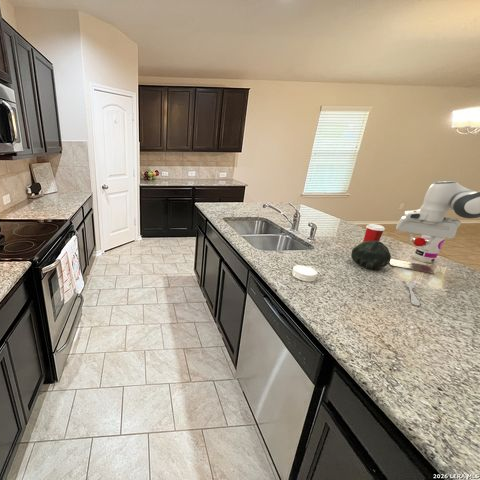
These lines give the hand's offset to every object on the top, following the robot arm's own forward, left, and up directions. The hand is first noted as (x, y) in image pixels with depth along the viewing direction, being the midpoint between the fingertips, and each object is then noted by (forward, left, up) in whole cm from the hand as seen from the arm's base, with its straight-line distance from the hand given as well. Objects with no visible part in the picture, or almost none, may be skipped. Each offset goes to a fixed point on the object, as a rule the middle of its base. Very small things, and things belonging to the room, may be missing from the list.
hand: (419, 242), depth 123 cm
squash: (+18, +12, -13) cm, 25 cm away
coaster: (+44, +43, -13) cm, 63 cm away
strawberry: (0, 0, 0) cm, 0 cm away
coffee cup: (+16, -13, -13) cm, 24 cm away
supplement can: (-8, -14, -13) cm, 21 cm away
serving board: (0, 0, -13) cm, 13 cm away
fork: (+5, +33, -13) cm, 36 cm away
